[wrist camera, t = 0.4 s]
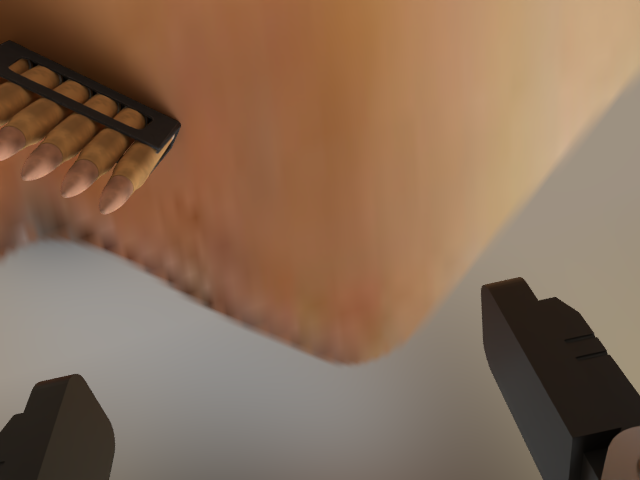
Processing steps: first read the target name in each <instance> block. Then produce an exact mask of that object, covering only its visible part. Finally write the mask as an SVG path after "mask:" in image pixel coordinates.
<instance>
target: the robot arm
mask: <svg viewBox="0 0 640 480" xmlns="http://www.w3.org/2000/svg"><path fill="white" fill-rule="evenodd" d="M481 302H482V325H483V344H484V350H485V353H486V358H487V361H488V364H489V367H490V370H491V372H492V374H493V376H494V378H495V380H496V382H497V384H498V387H499V389H500V391H501V392H502V395H503V397H504V399H505V401H506V403H507V405H508V407H509V409H510V412H511V414H512V415H513V418H514V420H515V422H516V424H517V426H518V428H519V430H520V432H521V435H522V437H523V438H524V441H525V443H526V445H527V447H528V449H529V451H530V453H531V455H532V457H533V460H534V462H535V464H536V466H537V468H538V470H539V472H540V474H541V476H542V478H543V480H640V395H639V394H638V393H637V391H636V390H635V389H634V387H633V386H632V384H631V383H630V382H629V381H628V379H627V378H626V376H625V375H624V373H623V372H622V371H621V369H620V368H619V367H618V365H617V364H616V362H615V361H614V360H613V359H612V357H611V356H610V355H608V354H607V350H606V349H605V347H604V346H603V345H602V343H601V342H600V341H599V339H598V338H597V337H595V336H594V332H593V331H592V330H591V328H590V327H589V325H588V324H587V323H586V321H585V320H584V319H583V317H582V316H581V314H580V313H579V312H578V311H576V310H574V309H573V308H571V307H570V306H568V305H567V304H565V303H564V302H562V301H561V300H559V299H558V298H556V297H553V298H549V299H544V300H539V301H538V299H537V298H536V296H535V295H534V293H533V292H532V290H531V289H530V287H529V286H528V284H527V283H526V282H525V280H524V279H523V278H521V277H518V278H513V279H509V280H504V281H500V282H495V283H491V284H486V285H483V286H482V288H481ZM114 452H115V438H114V432H113V428H112V425H111V423H110V421H109V419H108V418H107V416H106V414H105V412H104V411H103V409H102V408H101V406H100V404H99V403H98V401H97V400H96V398H95V396H94V394H93V393H92V391H91V390H90V388H89V386H88V385H87V383H86V381H85V380H84V378H83V377H82V376H81V375H78V374H73V375H68V376H64V377H59V378H55V379H50V380H46V381H41V382H38V383H37V384H36V385H35V386H34V387H33V389H32V392H31V394H30V397H29V400H28V402H27V405H26V408H25V410H24V413H21V414H16V415H14V416H13V417H12V418H11V420H10V421H9V422H8V423H7V424H6V426H5V427H4V428H3V430H2V431H1V432H0V480H109V477H110V472H111V467H112V462H113V458H114Z"/></svg>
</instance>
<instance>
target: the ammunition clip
mask: <svg viewBox="0 0 640 480" xmlns="http://www.w3.org/2000/svg"><path fill="white" fill-rule="evenodd" d="M7 122H8V124H6V123H7ZM4 124H6V125H5V126H4V127H3V128H1V130H0V161H2V160H5V159H7V158H9V157H11V156H13V155H14V154H16V153H17V152H18V151H21V150H22V149H24V148H25V147H27V146H29V145H33V144H36V143H37V142H39V141H40V140H42V139H43V138H44V137H45V139H44V141H43V142H42V143H41V144H40V145H39V146H38V148H36V149H35V150H34V151H33V152H32V153H31V154H30V156H29V157H28V158H27V160H26V161H25V163H24V165H23V168H22V170H21V178H22V179H23V180H27V181H30V180H35V179H38V178H41V177H43V176H45V175H47V174H48V173H50V172H51V171H53V170H54V169H55V168H56V167H58V166H59V165H61V164H62V163H63V162H64V161H67V160H69V159H71V158H73V157H74V156H76V155H77V154H78V153H79V152H80V151H81V150H82V151H81V153H80V155H79V157H78V159H77V160H76V161H75V163H74V165H73V166H72V167H71V168H70V169H69V171H68V172H67V174H66V176H65V177H64V179H63V182H62V185H61V195H62V196H63V197H66V198H68V197H73V196H75V195H78V194H80V193H81V192H83V191H84V190H86V189H87V188H88V187H90V186H91V185H92V184H93V182H94V181H96V180H97V179H98V178H99V177H100V176H102V175H104V174H105V173H107V172H108V171H109V170H110V169H111V168H112V167H113V166H114V165H115V163H117V164H116V166H115V168H114V170H113V174H112V176H111V178H110V179H109V181H108V183H107V185H106V186H105V188H104V189H103V192H102V194H101V197H100V202H99V210H100V212H101V213H102V214H108V213H111V212H113V211H115V210H116V209H118V208H119V207H121V206H122V205H123V204H124V203H125V202H126V201H127V199H128V198H129V197H130V196H131V195H132V194H133V192H134V191H135V190H136V189H138V188H139V187H141V186H142V185H143V183H144V182H145V181H146V179H147V177H148V176H149V175H150V174H151V173H152V171H153V170H154V169H155V168H156V166H157V165H158V164H159V163H160V162H161V160H162V159H163V158H164V157H165V155H166V154H167V153H168V152H169V151H170V149H171V148H172V146H173V143H174V141H175V139H176V136H177V134H178V132H179V129H180V127H181V124H180V123H179V122H178V121H176V120H174V119H172V118H170V117H168V116H166V115H164V114H162V113H159V112H157V111H155V110H153V109H151V108H149V107H147V106H145V105H143V104H141V103H139V102H137V101H135V100H132V99H130V98H128V97H126V96H124V95H122V94H120V93H118V92H116V91H114V90H112V89H110V88H108V87H105V86H103V85H101V84H99V83H97V82H95V81H93V80H91V79H89V78H87V77H85V76H83V75H81V74H79V73H76V72H74V71H72V70H70V69H68V68H66V67H64V66H62V65H60V64H58V63H56V62H54V61H52V60H49V59H47V58H45V57H43V56H41V55H39V54H37V53H35V52H33V51H31V50H29V49H27V48H25V47H22V46H20V45H18V44H16V43H14V42H12V41H7V42H5V43H2V44H0V127H1V126H2V125H4ZM133 142H134V143H133ZM132 143H133V144H132ZM131 144H132V145H131ZM129 147H130V148H129ZM128 148H129V149H128ZM127 149H128V150H127ZM126 150H127V151H126ZM125 151H126V153H125ZM124 153H125V154H124ZM123 154H124V155H123Z"/></svg>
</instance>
